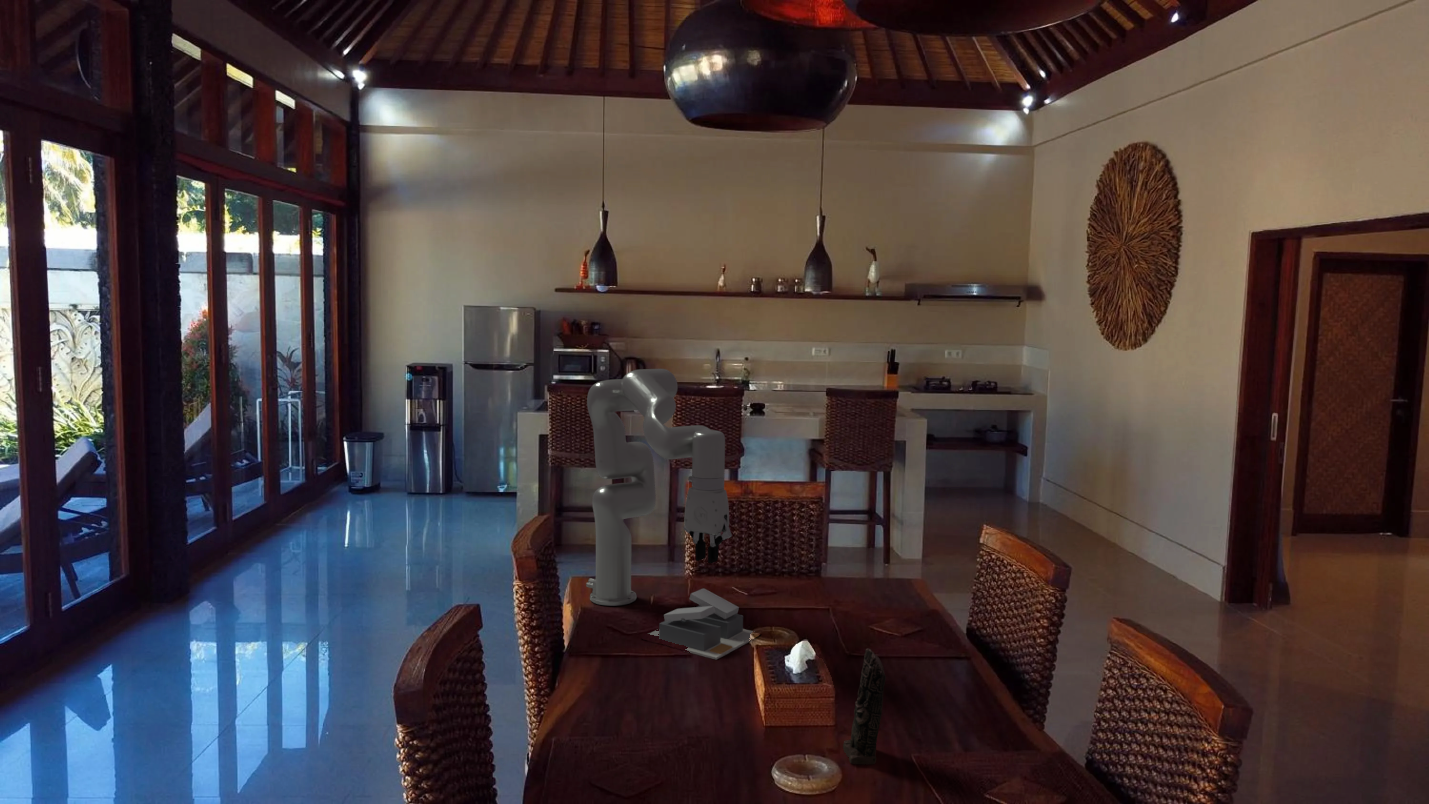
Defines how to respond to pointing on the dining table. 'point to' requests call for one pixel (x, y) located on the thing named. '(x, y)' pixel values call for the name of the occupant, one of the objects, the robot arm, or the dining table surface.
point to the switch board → (706, 634)
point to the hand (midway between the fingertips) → (706, 560)
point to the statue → (867, 712)
